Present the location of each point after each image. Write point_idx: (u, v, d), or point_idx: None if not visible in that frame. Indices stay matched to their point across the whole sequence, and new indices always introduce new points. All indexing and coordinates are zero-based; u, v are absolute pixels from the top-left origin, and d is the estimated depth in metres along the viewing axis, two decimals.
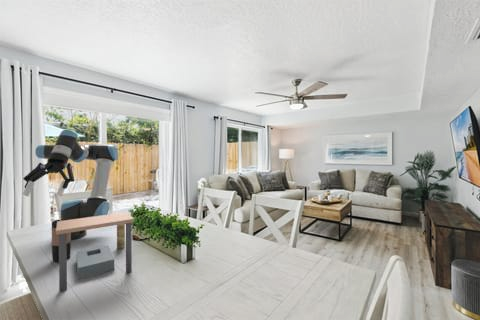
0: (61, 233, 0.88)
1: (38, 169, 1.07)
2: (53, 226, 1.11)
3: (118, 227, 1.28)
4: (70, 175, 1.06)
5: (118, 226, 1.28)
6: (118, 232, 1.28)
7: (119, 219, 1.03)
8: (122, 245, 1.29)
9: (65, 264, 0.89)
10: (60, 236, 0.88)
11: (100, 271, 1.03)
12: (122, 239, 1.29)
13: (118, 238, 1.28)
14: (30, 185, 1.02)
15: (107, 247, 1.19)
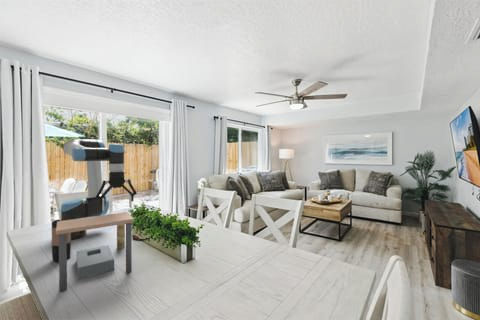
0: (61, 233, 0.88)
1: (104, 186, 1.23)
2: (53, 226, 1.11)
3: (118, 227, 1.28)
4: (134, 191, 1.31)
5: (118, 226, 1.28)
6: (118, 232, 1.28)
7: (119, 219, 1.03)
8: (122, 245, 1.29)
9: (65, 264, 0.89)
10: (60, 236, 0.88)
11: (100, 271, 1.03)
12: (122, 239, 1.29)
13: (118, 238, 1.28)
14: (104, 202, 1.23)
15: (107, 247, 1.19)
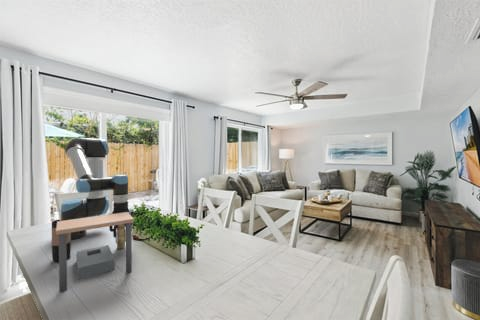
0: (61, 233, 0.88)
1: None
2: (53, 226, 1.11)
3: (118, 227, 1.28)
4: None
5: (118, 226, 1.28)
6: (118, 232, 1.28)
7: (119, 219, 1.03)
8: (122, 245, 1.29)
9: (65, 264, 0.89)
10: (60, 236, 0.88)
11: (100, 271, 1.03)
12: (122, 239, 1.29)
13: (118, 238, 1.28)
14: None
15: (107, 247, 1.19)
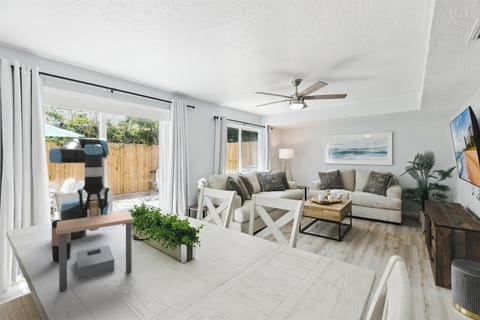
0: (61, 233, 0.88)
1: None
2: (53, 226, 1.11)
3: (90, 205, 1.10)
4: (106, 202, 1.14)
5: (90, 204, 1.10)
6: (90, 211, 1.10)
7: (119, 219, 1.03)
8: None
9: (65, 264, 0.89)
10: (60, 236, 0.88)
11: (100, 271, 1.03)
12: None
13: None
14: None
15: (107, 247, 1.19)
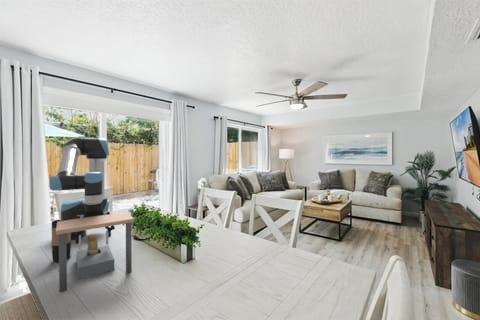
0: (61, 233, 0.88)
1: None
2: (53, 226, 1.11)
3: (89, 239, 1.10)
4: None
5: (89, 238, 1.10)
6: (89, 245, 1.10)
7: (119, 219, 1.03)
8: None
9: (65, 264, 0.89)
10: (60, 236, 0.88)
11: (100, 271, 1.03)
12: (94, 252, 1.11)
13: (89, 251, 1.11)
14: (80, 240, 1.09)
15: (107, 247, 1.19)
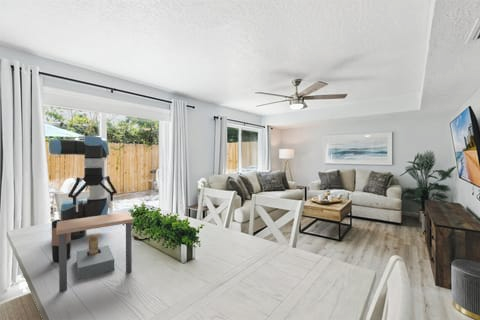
0: (61, 233, 0.88)
1: None
2: (53, 226, 1.11)
3: (90, 239, 1.11)
4: (114, 189, 1.17)
5: (90, 237, 1.10)
6: (90, 244, 1.11)
7: (119, 219, 1.03)
8: None
9: (65, 264, 0.89)
10: (60, 236, 0.88)
11: (100, 271, 1.03)
12: (95, 252, 1.12)
13: (90, 251, 1.11)
14: (77, 202, 1.08)
15: (107, 247, 1.19)
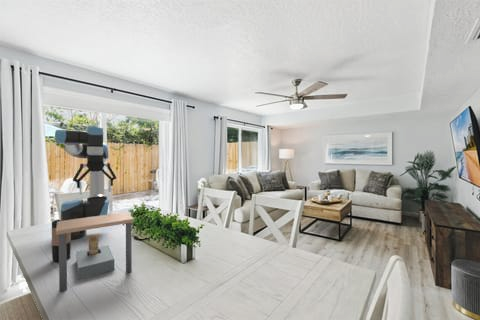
0: (61, 233, 0.88)
1: (81, 169, 1.20)
2: (53, 226, 1.11)
3: (90, 238, 1.11)
4: (114, 175, 1.29)
5: (90, 237, 1.11)
6: (90, 244, 1.11)
7: (119, 219, 1.03)
8: None
9: (65, 264, 0.89)
10: (60, 236, 0.88)
11: (100, 271, 1.03)
12: (95, 252, 1.12)
13: (90, 251, 1.11)
14: None
15: (107, 247, 1.19)
